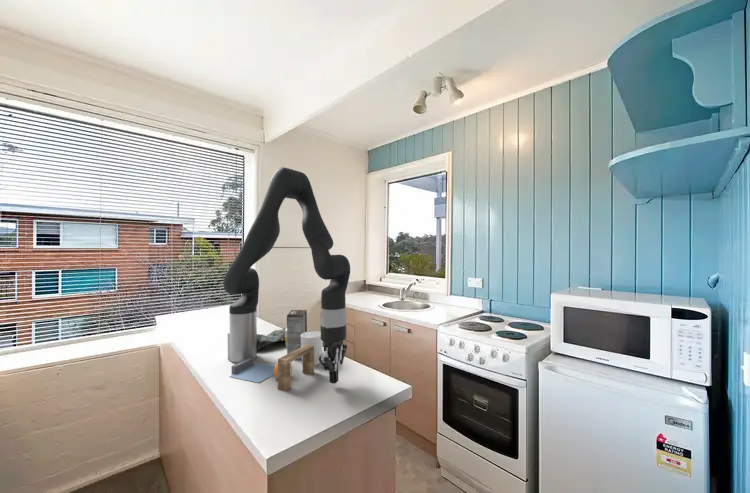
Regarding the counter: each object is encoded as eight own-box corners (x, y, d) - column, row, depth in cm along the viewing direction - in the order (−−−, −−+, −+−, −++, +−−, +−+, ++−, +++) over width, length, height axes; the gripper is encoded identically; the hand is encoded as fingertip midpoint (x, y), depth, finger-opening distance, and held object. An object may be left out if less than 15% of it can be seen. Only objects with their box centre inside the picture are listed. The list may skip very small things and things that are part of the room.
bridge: (278, 389, 87) (277, 359, 87) (306, 370, 100) (306, 344, 100) (286, 391, 86) (286, 360, 86) (314, 372, 99) (313, 345, 99)
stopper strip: (231, 373, 98) (231, 366, 98) (250, 364, 106) (250, 357, 106) (235, 374, 98) (235, 366, 98) (253, 365, 105) (253, 358, 105)
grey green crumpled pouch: (254, 354, 116) (311, 339, 133) (253, 335, 116) (310, 323, 133) (242, 349, 126) (297, 335, 142) (241, 331, 126) (296, 320, 143)
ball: (285, 379, 92) (273, 383, 93) (295, 372, 96) (283, 376, 98) (280, 363, 92) (268, 367, 94) (290, 357, 97) (278, 361, 98)
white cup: (318, 367, 103) (318, 338, 103) (296, 365, 105) (296, 336, 105) (326, 359, 111) (326, 331, 111) (306, 357, 112) (306, 330, 112)
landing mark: (229, 376, 96) (229, 376, 96) (257, 363, 107) (257, 362, 107) (258, 383, 91) (258, 382, 91) (284, 368, 102) (284, 367, 102)
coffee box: (291, 350, 120) (290, 309, 120) (307, 349, 121) (307, 309, 121) (286, 358, 111) (286, 314, 111) (304, 358, 112) (303, 314, 112)
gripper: (333, 317, 96) (334, 371, 96) (309, 327, 84) (310, 390, 84) (355, 319, 93) (355, 375, 93) (333, 330, 81) (333, 394, 81)
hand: (333, 382), depth 88 cm, fingers closed
